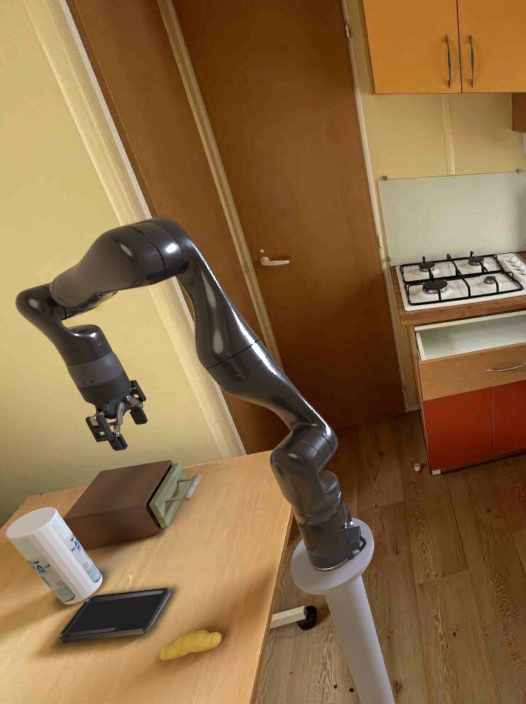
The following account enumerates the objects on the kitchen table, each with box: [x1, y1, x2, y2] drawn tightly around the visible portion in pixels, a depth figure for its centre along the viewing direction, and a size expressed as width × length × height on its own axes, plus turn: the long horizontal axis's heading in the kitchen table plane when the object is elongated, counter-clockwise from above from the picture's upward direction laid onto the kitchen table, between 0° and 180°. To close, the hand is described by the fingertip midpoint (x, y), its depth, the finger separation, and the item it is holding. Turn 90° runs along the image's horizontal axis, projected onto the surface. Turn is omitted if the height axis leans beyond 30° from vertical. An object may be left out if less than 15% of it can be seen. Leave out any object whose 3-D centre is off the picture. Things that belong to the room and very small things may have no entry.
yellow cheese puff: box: [159, 629, 222, 661], centre depth 75 cm, size 9×3×3 cm, turn 105°
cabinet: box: [62, 459, 174, 550], centre depth 98 cm, size 15×14×10 cm
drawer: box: [146, 462, 203, 529], centre depth 99 cm, size 18×12×8 cm
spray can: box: [5, 506, 103, 605], centre depth 80 cm, size 6×6×20 cm
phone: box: [58, 587, 171, 644], centre depth 80 cm, size 8×1×15 cm
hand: (132, 435), depth 93 cm, fingers open, 8 cm apart
